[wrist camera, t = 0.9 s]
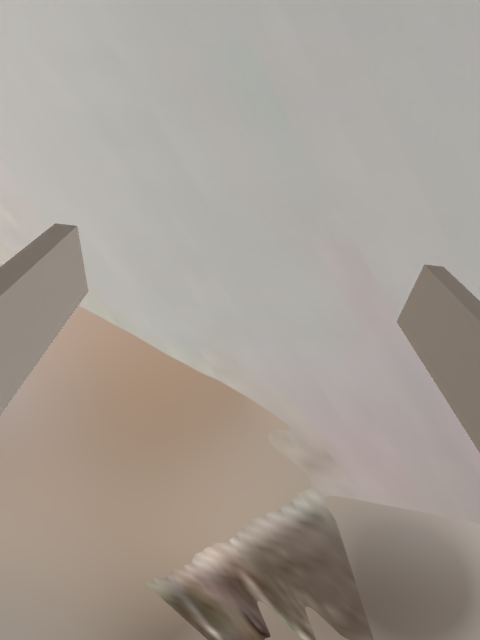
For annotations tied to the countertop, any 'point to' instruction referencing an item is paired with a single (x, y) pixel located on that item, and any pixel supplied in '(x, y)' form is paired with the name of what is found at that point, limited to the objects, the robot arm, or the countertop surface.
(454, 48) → the countertop surface
